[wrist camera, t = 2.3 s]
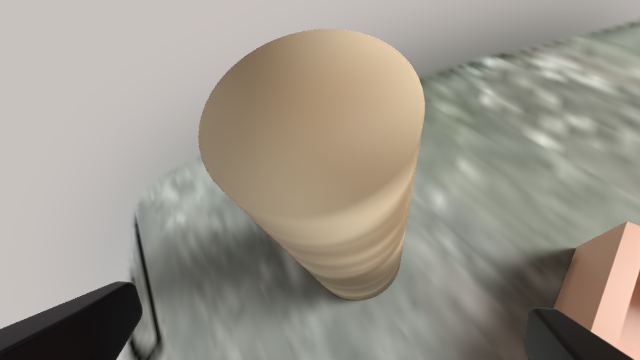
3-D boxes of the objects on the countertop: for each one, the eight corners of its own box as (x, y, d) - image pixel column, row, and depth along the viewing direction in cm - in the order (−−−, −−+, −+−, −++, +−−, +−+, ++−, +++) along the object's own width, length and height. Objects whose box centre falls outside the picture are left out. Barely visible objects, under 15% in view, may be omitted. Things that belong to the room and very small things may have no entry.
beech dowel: (362, 321, 17) (311, 271, 5) (295, 259, 19) (158, 131, 8) (418, 248, 18) (474, 80, 7) (350, 197, 20) (302, 5, 9)
